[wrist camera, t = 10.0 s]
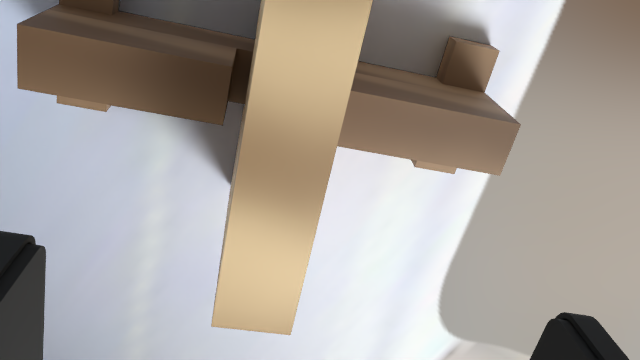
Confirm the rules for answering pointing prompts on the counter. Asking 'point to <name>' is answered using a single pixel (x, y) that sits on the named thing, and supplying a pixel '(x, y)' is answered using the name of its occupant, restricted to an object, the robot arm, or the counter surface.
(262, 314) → the oak slotted plate
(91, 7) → the walnut notched block
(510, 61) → the counter surface
